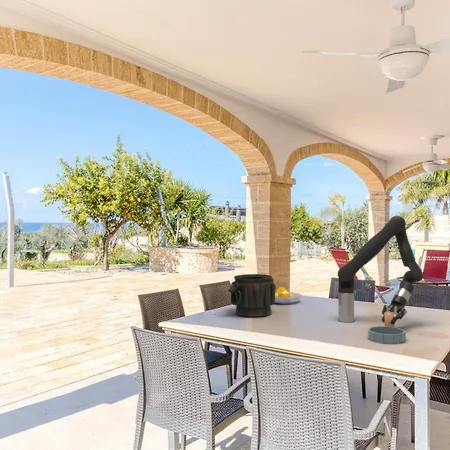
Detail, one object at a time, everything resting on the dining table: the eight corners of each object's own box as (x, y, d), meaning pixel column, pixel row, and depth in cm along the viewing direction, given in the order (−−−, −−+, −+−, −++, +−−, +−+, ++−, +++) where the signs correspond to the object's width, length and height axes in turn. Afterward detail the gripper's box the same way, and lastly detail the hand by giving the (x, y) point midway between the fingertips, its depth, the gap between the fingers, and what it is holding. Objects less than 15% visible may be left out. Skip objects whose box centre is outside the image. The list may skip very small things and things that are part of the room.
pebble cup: (385, 331, 248) (385, 312, 247) (384, 329, 253) (383, 310, 253) (395, 332, 247) (395, 312, 246) (393, 329, 252) (393, 310, 251)
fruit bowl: (306, 300, 344) (306, 286, 344) (292, 307, 321) (292, 291, 321) (273, 298, 359) (273, 283, 359) (257, 303, 336) (257, 288, 336)
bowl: (369, 343, 226) (369, 334, 226) (366, 334, 244) (366, 325, 243) (408, 344, 222) (408, 335, 222) (402, 335, 240) (401, 326, 240)
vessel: (225, 318, 288) (224, 279, 288) (236, 308, 319) (235, 273, 319) (273, 320, 281) (272, 279, 281) (279, 309, 312) (278, 273, 312)
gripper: (387, 292, 259) (373, 316, 253) (409, 296, 247) (395, 320, 241) (393, 300, 262) (379, 324, 256) (415, 304, 250) (401, 329, 244)
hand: (387, 322), depth 249 cm, fingers closed on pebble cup, 5 cm apart
